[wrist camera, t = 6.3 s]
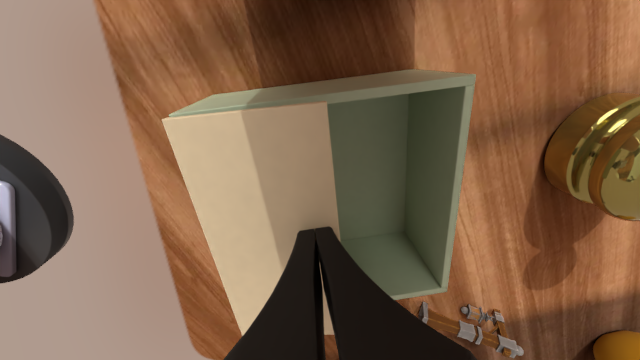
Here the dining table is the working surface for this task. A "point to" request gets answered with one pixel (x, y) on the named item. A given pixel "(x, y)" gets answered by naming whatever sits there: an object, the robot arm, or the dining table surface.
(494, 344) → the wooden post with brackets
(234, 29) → the dining table surface
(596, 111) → the brass weight
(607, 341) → the apple
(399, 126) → the box
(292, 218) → the door
